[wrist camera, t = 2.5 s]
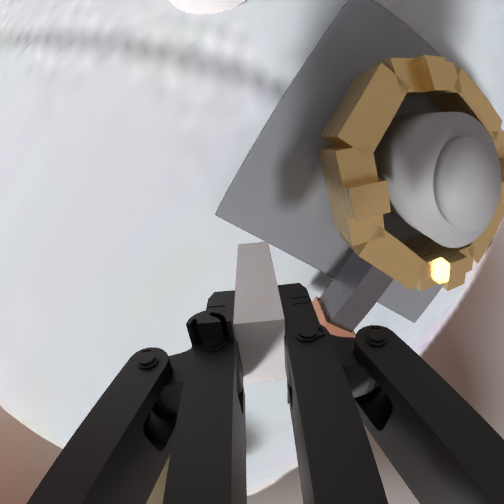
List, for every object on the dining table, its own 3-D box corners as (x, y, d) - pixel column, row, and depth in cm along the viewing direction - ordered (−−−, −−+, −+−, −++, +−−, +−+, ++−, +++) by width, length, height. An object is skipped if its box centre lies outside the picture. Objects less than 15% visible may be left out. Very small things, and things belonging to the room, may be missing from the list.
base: (352, -4, 12) (397, -54, 5) (504, 149, 16) (563, 165, 9) (216, 210, 18) (196, 258, 11) (408, 315, 23) (449, 371, 15)
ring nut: (382, 32, 12) (417, 10, 8) (497, 155, 15) (533, 165, 10) (226, 289, 19) (221, 330, 14) (370, 351, 21) (388, 387, 17)
